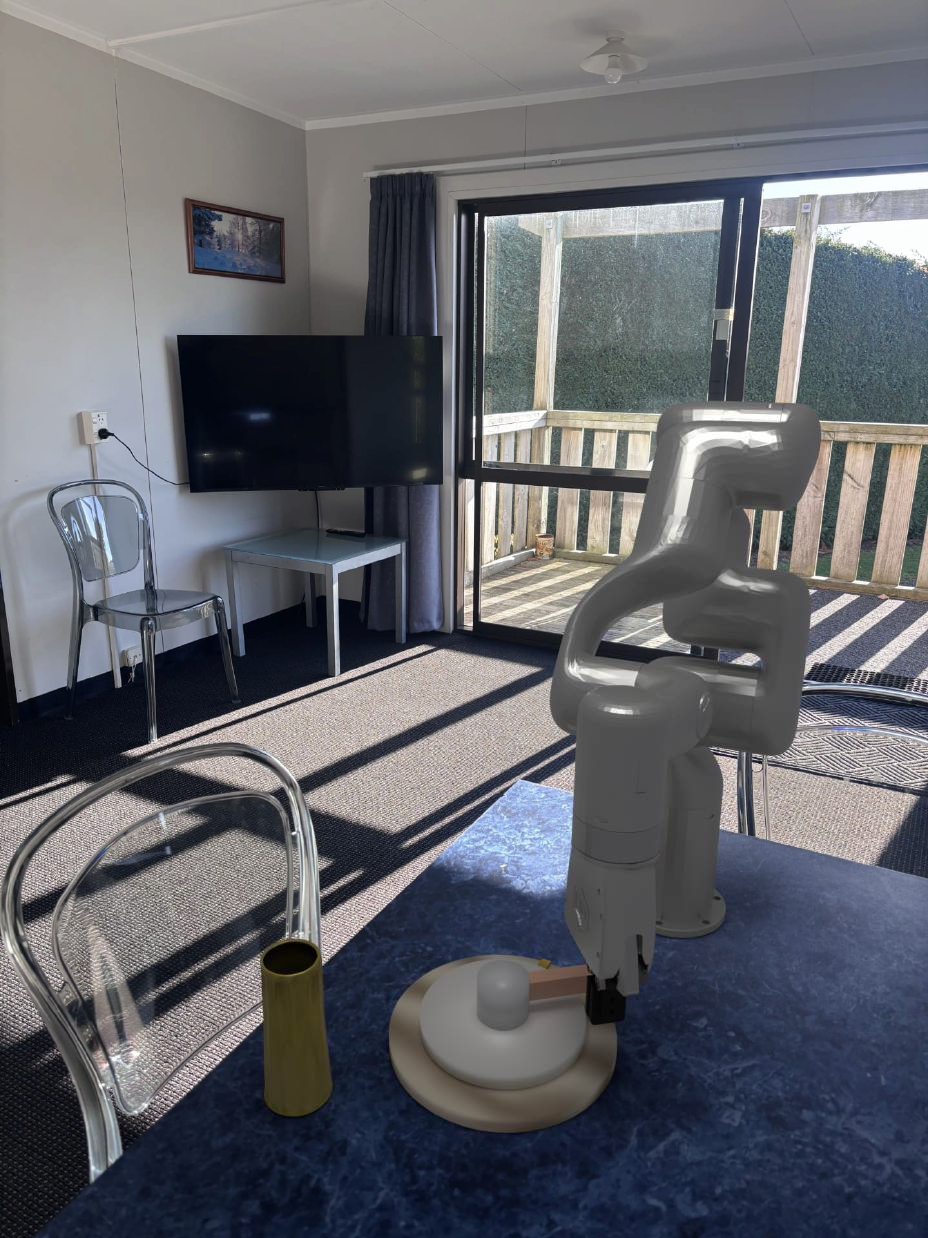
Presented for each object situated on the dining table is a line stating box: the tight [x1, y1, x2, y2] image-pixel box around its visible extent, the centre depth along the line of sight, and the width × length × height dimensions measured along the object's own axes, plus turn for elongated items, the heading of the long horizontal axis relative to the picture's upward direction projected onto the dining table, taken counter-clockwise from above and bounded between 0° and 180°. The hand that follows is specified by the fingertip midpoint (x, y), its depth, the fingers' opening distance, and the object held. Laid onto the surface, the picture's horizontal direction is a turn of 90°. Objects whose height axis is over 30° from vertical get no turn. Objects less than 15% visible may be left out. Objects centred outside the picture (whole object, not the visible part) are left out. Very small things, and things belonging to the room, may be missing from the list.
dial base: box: [388, 954, 618, 1134], centre depth 88 cm, size 22×22×2 cm
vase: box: [259, 938, 334, 1118], centre depth 80 cm, size 6×6×14 cm
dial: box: [420, 959, 650, 1089], centre depth 87 cm, size 22×16×6 cm
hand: (604, 1017), depth 81 cm, fingers closed
